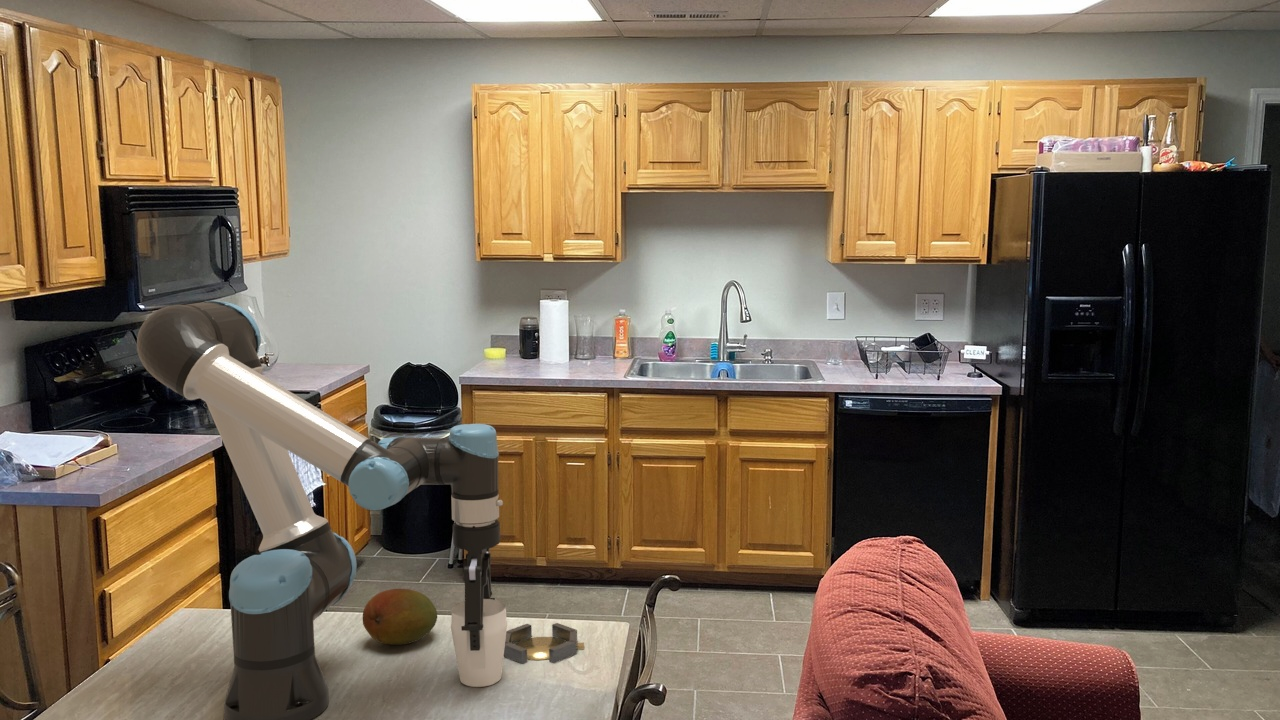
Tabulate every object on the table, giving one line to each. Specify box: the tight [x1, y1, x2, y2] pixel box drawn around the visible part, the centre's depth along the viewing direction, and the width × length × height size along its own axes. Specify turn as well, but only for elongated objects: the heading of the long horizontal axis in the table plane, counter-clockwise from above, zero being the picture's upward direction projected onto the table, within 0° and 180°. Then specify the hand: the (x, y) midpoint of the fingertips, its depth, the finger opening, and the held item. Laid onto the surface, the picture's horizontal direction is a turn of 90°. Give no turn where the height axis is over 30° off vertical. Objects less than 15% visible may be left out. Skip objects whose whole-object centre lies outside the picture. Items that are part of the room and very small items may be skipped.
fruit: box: [362, 588, 438, 646], centre depth 181 cm, size 12×13×10 cm
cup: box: [450, 599, 508, 688], centre depth 165 cm, size 9×9×12 cm
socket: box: [503, 622, 585, 665], centre depth 177 cm, size 15×13×2 cm
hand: (480, 655), depth 165 cm, fingers closed on cup, 9 cm apart
